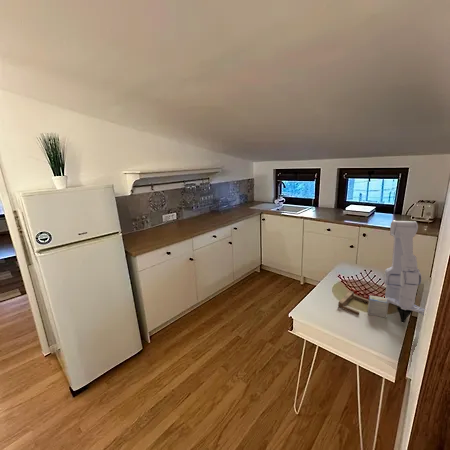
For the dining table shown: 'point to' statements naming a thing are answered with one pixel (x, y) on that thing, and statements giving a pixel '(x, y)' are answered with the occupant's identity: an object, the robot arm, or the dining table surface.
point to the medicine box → (377, 306)
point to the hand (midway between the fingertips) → (403, 321)
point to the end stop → (348, 298)
